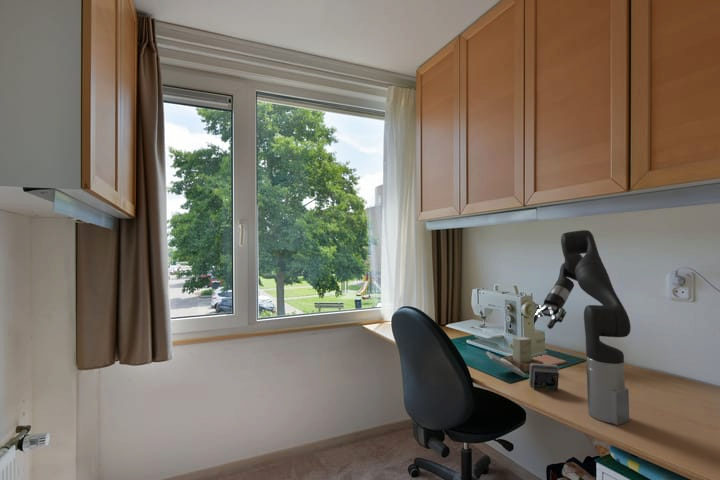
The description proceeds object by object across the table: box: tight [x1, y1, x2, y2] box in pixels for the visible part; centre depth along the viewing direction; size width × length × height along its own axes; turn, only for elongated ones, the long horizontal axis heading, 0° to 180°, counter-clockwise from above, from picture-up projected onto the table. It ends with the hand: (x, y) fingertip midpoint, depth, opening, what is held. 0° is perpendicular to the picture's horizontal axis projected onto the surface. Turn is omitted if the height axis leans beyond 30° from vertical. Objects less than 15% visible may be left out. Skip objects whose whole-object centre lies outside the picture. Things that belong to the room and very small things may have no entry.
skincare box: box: [512, 336, 532, 363], centre depth 144 cm, size 6×4×12 cm
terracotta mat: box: [532, 354, 567, 366], centre depth 151 cm, size 12×12×1 cm
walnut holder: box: [502, 354, 543, 374], centre depth 144 cm, size 12×10×3 cm
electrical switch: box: [528, 363, 560, 392], centre depth 121 cm, size 9×5×9 cm, turn 75°
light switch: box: [485, 350, 527, 379], centre depth 137 cm, size 8×6×14 cm
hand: (540, 325), depth 149 cm, fingers open, 8 cm apart
